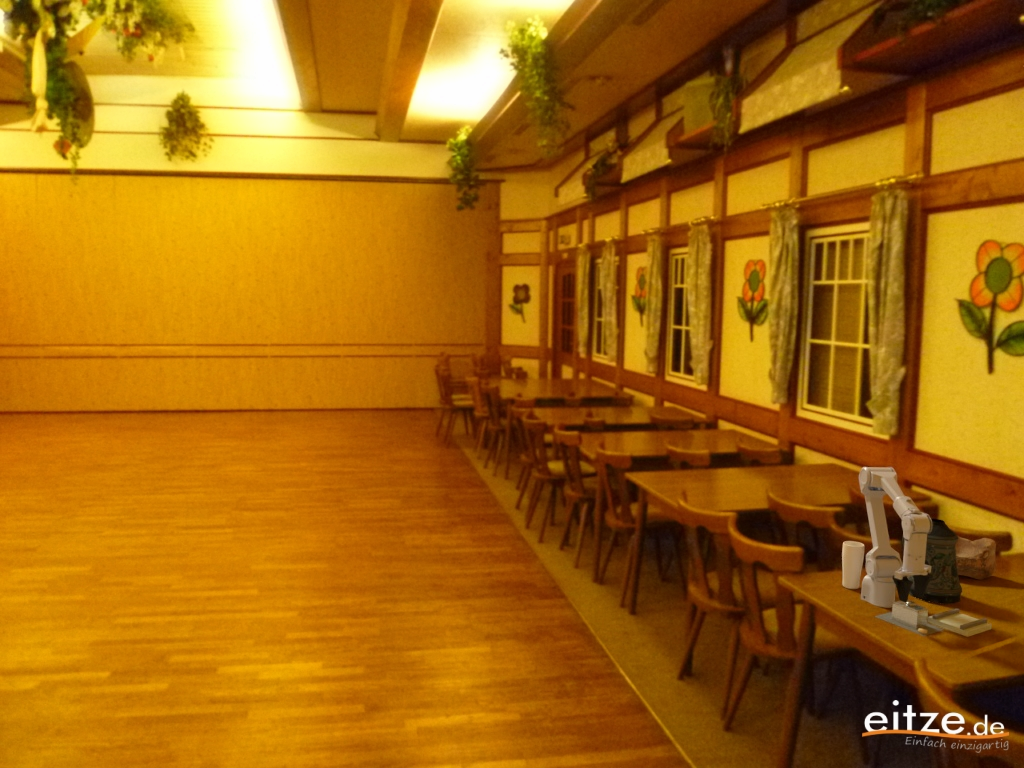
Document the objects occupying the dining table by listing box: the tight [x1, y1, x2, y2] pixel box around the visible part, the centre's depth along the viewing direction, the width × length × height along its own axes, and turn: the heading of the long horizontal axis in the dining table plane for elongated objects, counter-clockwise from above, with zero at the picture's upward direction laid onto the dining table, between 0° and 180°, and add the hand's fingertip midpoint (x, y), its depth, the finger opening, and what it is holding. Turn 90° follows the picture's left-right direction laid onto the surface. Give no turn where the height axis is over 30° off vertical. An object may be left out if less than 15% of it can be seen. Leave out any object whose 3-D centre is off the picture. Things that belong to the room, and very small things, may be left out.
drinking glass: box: [841, 540, 865, 590], centre depth 271 cm, size 7×7×15 cm
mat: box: [874, 611, 945, 637], centre depth 239 cm, size 16×10×2 cm, turn 30°
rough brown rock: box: [950, 528, 997, 581], centre depth 286 cm, size 23×17×15 cm
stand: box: [927, 608, 993, 638], centre depth 238 cm, size 12×12×4 cm
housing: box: [891, 600, 929, 629], centre depth 239 cm, size 8×5×6 cm, turn 30°
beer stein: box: [902, 517, 963, 605], centre depth 265 cm, size 16×19×25 cm
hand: (910, 598), depth 238 cm, fingers open, 7 cm apart
